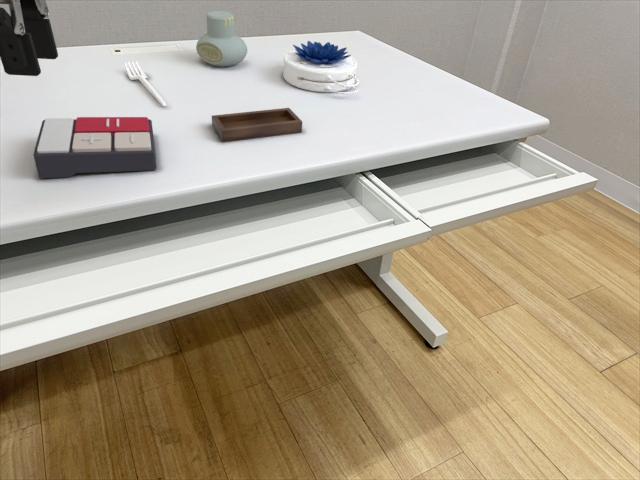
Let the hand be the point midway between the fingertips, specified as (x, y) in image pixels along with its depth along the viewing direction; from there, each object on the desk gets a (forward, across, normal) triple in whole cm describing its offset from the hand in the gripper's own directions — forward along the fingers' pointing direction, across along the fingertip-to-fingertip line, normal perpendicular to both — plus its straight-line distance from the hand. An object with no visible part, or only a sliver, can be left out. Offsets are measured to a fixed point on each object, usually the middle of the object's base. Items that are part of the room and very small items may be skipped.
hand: (33, 63), depth 49 cm
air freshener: (+18, -56, +15) cm, 61 cm away
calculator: (+18, -12, 0) cm, 21 cm away
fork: (+18, -39, +2) cm, 43 cm away
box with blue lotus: (+18, -47, +37) cm, 62 cm away
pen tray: (+17, -23, +23) cm, 37 cm away
